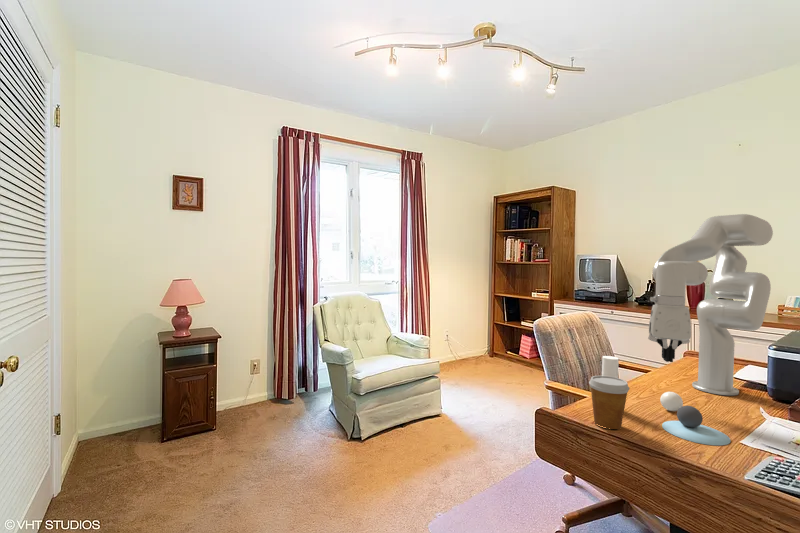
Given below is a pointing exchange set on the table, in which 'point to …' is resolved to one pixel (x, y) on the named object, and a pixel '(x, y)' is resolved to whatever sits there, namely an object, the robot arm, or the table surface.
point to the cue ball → (671, 401)
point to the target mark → (696, 433)
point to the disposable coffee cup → (608, 400)
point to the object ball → (689, 416)
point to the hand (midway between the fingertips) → (668, 360)
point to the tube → (610, 366)
